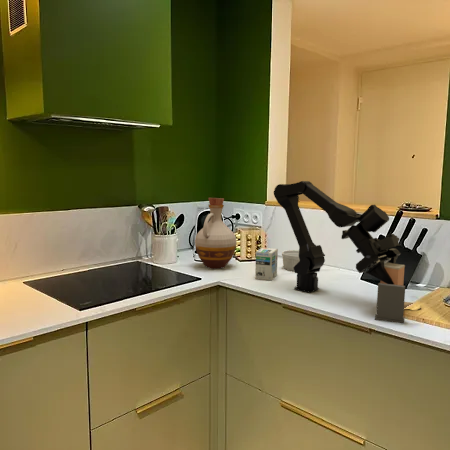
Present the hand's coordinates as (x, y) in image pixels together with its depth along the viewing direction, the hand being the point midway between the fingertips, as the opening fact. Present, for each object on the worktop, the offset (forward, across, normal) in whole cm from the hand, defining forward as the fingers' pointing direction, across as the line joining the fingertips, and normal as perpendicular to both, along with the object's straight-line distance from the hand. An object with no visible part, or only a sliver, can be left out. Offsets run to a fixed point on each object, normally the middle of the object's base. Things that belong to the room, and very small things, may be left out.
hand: (396, 283), depth 124 cm
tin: (+5, 0, +7) cm, 8 cm away
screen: (+8, -9, +4) cm, 12 cm away
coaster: (+7, +7, +5) cm, 11 cm away
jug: (-49, 0, +62) cm, 79 cm away
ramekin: (-31, +24, +44) cm, 59 cm away
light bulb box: (-31, +3, +44) cm, 54 cm away
